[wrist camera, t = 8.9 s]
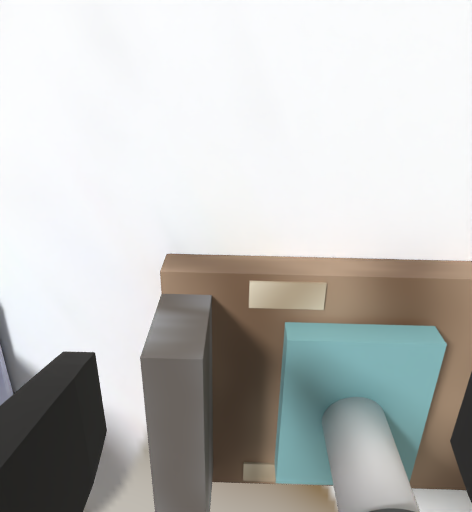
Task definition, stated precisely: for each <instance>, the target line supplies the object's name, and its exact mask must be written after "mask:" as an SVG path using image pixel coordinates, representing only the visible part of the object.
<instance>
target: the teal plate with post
mask: <svg viewBox="0 0 472 512" xmlns="http://www.w3.org/2000/svg"><path fill="white" fill-rule="evenodd" d="M446 346H447V344H446V342H445V341H444V339H443V338H442V336H441V335H440V333H439V331H438V330H437V328H436V327H435V326H413V325H375V324H338V323H300V322H285V329H284V342H283V355H282V368H281V382H280V395H279V408H278V421H277V434H276V448H275V477H276V483H279V484H310V485H334V490H335V496H336V501H337V506H338V511H339V512H420V511H419V508H418V505H417V502H416V500H415V497H414V494H413V491H412V488H411V486H410V483H409V482H410V479H411V475H412V471H413V468H414V464H415V460H416V457H417V453H418V449H419V445H420V442H421V438H422V434H423V431H424V427H425V423H426V420H427V416H428V412H429V409H430V405H431V401H432V397H433V394H434V390H435V386H436V383H437V379H438V375H439V372H440V368H441V364H442V361H443V357H444V353H445V350H446Z"/></svg>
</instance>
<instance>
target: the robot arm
mask: <svg viewBox="0 0 472 512" xmlns="http://www.w3.org/2000/svg"><path fill="white" fill-rule="evenodd" d="M106 432H107V429H106V423H105V416H104V409H103V403H102V396H101V390H100V383H99V376H98V370H97V363H96V356H95V353H94V352H62V353H61V354H60V355H59V356H57V357H56V358H55V359H54V360H53V361H51V362H50V363H49V364H48V365H47V366H46V367H44V368H43V369H42V370H41V371H40V372H39V373H38V374H36V375H35V376H34V377H33V378H32V379H31V380H29V381H28V382H27V383H26V384H25V385H24V386H23V387H21V388H20V389H19V390H18V391H17V392H16V393H14V394H13V391H12V388H11V384H10V380H9V376H8V372H7V369H6V365H5V361H4V357H3V353H2V349H1V346H0V512H83V510H84V507H85V505H86V502H87V499H88V497H89V494H90V491H91V488H92V486H93V483H94V479H95V475H96V472H97V468H98V464H99V460H100V456H101V452H102V448H103V444H104V440H105V436H106ZM450 443H451V446H452V449H453V452H454V455H455V459H456V462H457V465H458V468H459V471H460V474H461V476H462V479H463V482H464V485H465V487H466V490H467V493H468V496H469V498H470V500H471V502H472V372H471V375H470V378H469V381H468V385H467V388H466V391H465V394H464V397H463V401H462V404H461V407H460V410H459V414H458V417H457V420H456V423H455V426H454V430H453V433H452V436H451V439H450Z"/></svg>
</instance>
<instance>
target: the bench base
mask: <svg viewBox="0 0 472 512" xmlns="http://www.w3.org/2000/svg"><path fill="white" fill-rule="evenodd" d="M160 276H161V291H162V294H161V297H160V300H159V303H158V306H157V309H156V312H155V315H154V318H153V321H152V324H151V327H150V330H149V333H148V336H147V339H146V342H145V345H144V348H143V351H142V354H141V357H140V360H141V370H142V381H143V391H144V401H145V412H146V422H147V432H148V443H149V453H150V463H151V474H152V484H153V494H154V504H155V512H210V502H211V490H212V482H231V483H263V484H279V483H276V477H275V448H276V434H277V421H278V408H279V395H280V382H281V368H282V355H283V342H284V329H285V322H300V323H338V324H375V325H413V326H435V327H436V328H437V330H438V331H439V333H440V335H441V336H442V338H443V339H444V341H445V342H446V344H447V346H446V350H445V353H444V357H443V361H442V364H441V368H440V372H439V375H438V379H437V383H436V386H435V390H434V394H433V397H432V401H431V405H430V409H429V412H428V416H427V420H426V423H425V427H424V431H423V434H422V438H421V442H420V445H419V449H418V453H417V457H416V460H415V464H414V468H413V471H412V475H411V479H410V482H409V483H410V486H411V488H421V489H452V490H466V487H465V485H464V482H463V479H462V476H461V474H460V471H459V468H458V465H457V462H456V459H455V455H454V452H453V449H452V446H451V443H450V439H451V436H452V433H453V430H454V426H455V423H456V420H457V417H458V414H459V410H460V407H461V404H462V401H463V397H464V394H465V391H466V388H467V385H468V381H469V378H470V375H471V372H472V261H440V260H399V259H358V258H317V257H276V256H235V255H194V254H167V255H166V257H165V260H164V263H163V265H162V268H161V271H160ZM295 485H296V484H295ZM297 485H310V484H297ZM326 486H334V485H326Z"/></svg>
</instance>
